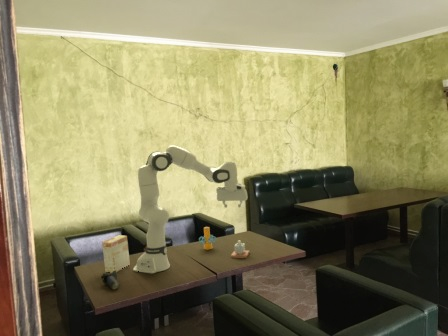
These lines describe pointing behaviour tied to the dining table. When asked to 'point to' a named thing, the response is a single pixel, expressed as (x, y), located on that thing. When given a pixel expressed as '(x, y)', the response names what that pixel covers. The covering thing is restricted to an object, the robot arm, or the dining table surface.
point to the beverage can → (111, 279)
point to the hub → (239, 248)
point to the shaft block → (240, 255)
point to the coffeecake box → (116, 253)
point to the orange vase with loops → (207, 239)
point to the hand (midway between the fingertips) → (232, 207)
